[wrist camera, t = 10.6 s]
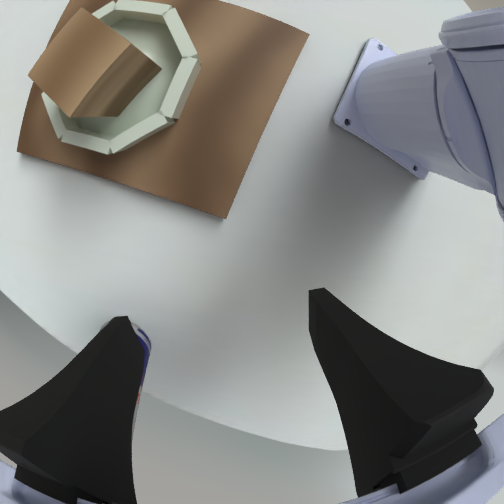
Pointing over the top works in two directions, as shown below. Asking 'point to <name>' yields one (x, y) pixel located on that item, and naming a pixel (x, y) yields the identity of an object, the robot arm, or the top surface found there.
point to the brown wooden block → (92, 69)
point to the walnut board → (191, 109)
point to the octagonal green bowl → (153, 94)
